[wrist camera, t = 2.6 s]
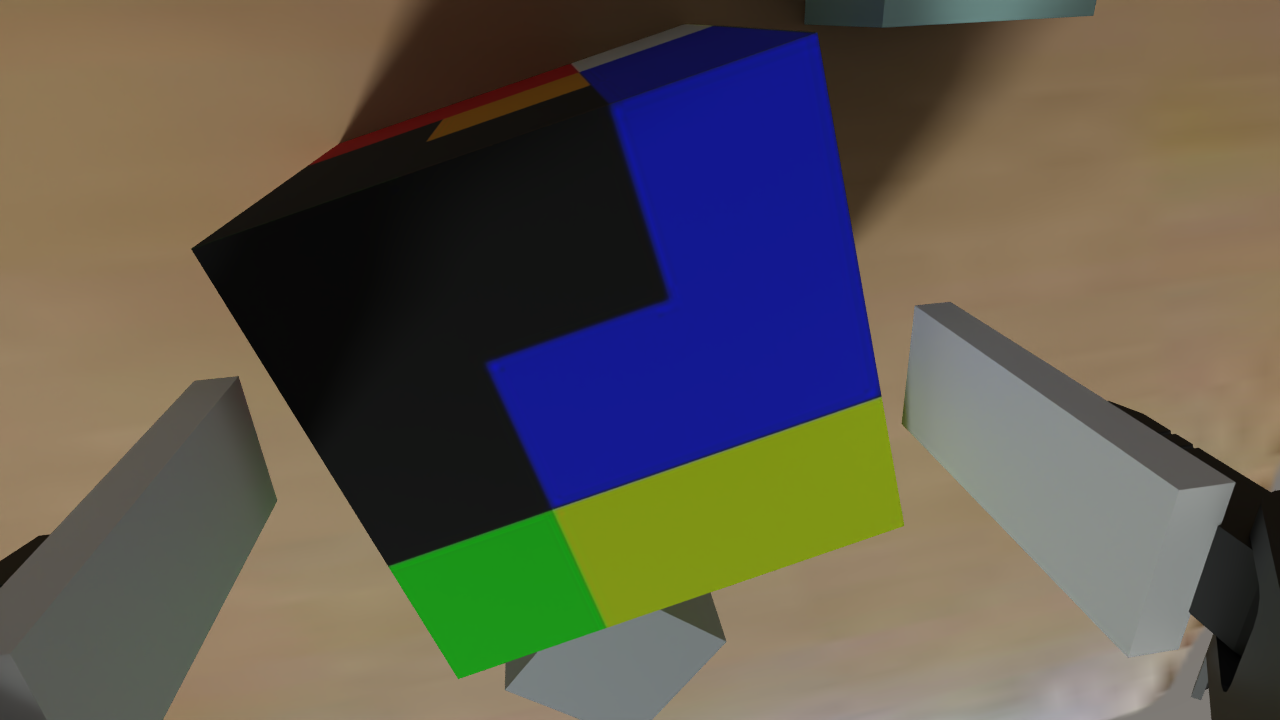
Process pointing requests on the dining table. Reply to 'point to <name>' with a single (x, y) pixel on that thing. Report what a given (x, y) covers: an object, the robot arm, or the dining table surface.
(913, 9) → the dusty teal cube
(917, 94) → the dining table surface
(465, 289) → the puzzle toy
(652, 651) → the slate grey cube
